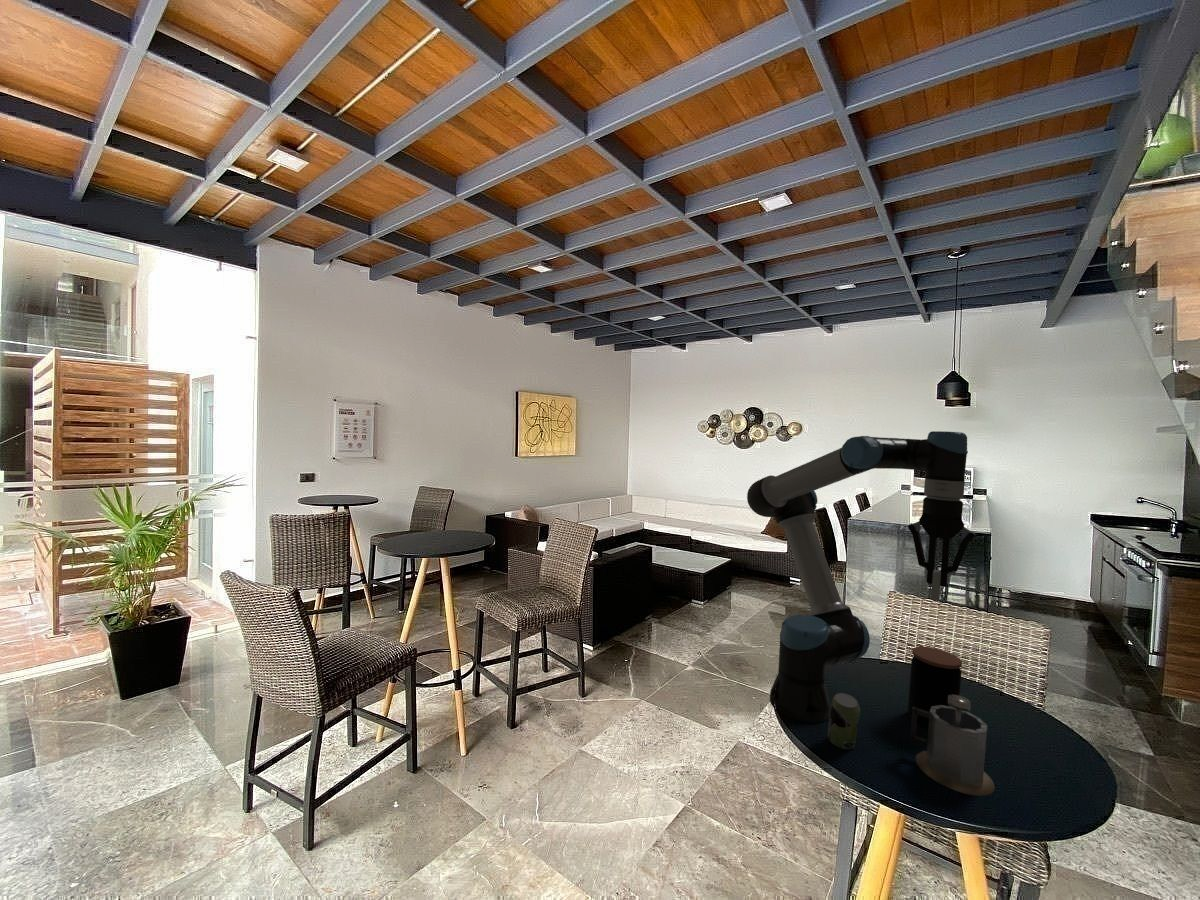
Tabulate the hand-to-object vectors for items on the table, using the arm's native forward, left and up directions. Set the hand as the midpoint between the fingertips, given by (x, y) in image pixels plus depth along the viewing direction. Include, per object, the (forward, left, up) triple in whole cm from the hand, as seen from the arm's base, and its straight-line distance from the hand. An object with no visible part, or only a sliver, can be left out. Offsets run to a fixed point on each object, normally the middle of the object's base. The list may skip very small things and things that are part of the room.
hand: (935, 598), depth 113 cm
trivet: (+6, -5, -36) cm, 37 cm away
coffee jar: (0, +15, -37) cm, 40 cm away
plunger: (+6, -5, -33) cm, 33 cm away
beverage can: (-15, -12, -37) cm, 41 cm away
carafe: (+4, -5, -36) cm, 36 cm away
